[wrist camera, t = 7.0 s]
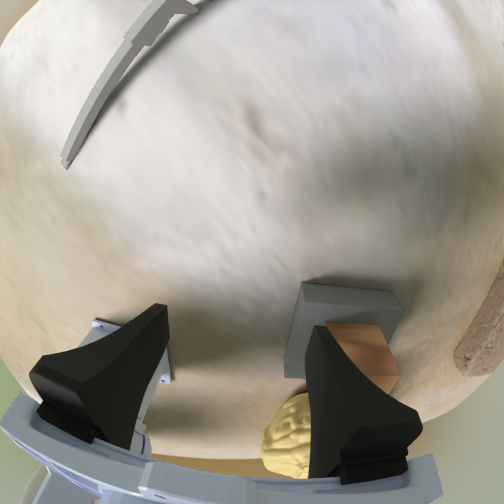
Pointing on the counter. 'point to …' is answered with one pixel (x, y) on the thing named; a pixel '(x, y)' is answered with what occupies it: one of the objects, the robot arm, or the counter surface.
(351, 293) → the base
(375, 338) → the block
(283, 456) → the sculpture
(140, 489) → the robot arm
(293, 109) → the counter surface
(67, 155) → the caliper
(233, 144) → the counter surface
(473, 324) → the brick
